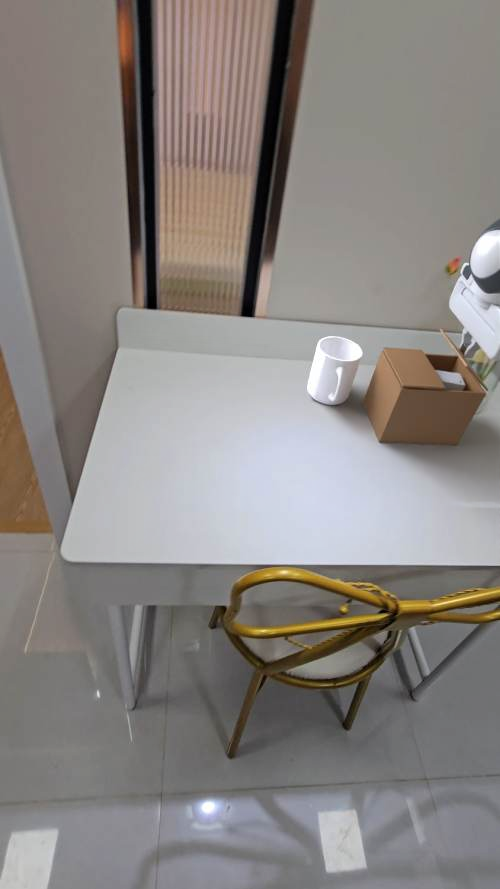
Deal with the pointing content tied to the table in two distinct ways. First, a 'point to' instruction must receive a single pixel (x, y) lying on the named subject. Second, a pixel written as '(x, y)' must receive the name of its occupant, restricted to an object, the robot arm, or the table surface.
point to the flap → (464, 360)
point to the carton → (420, 398)
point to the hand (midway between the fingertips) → (465, 354)
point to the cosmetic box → (451, 380)
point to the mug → (333, 370)
